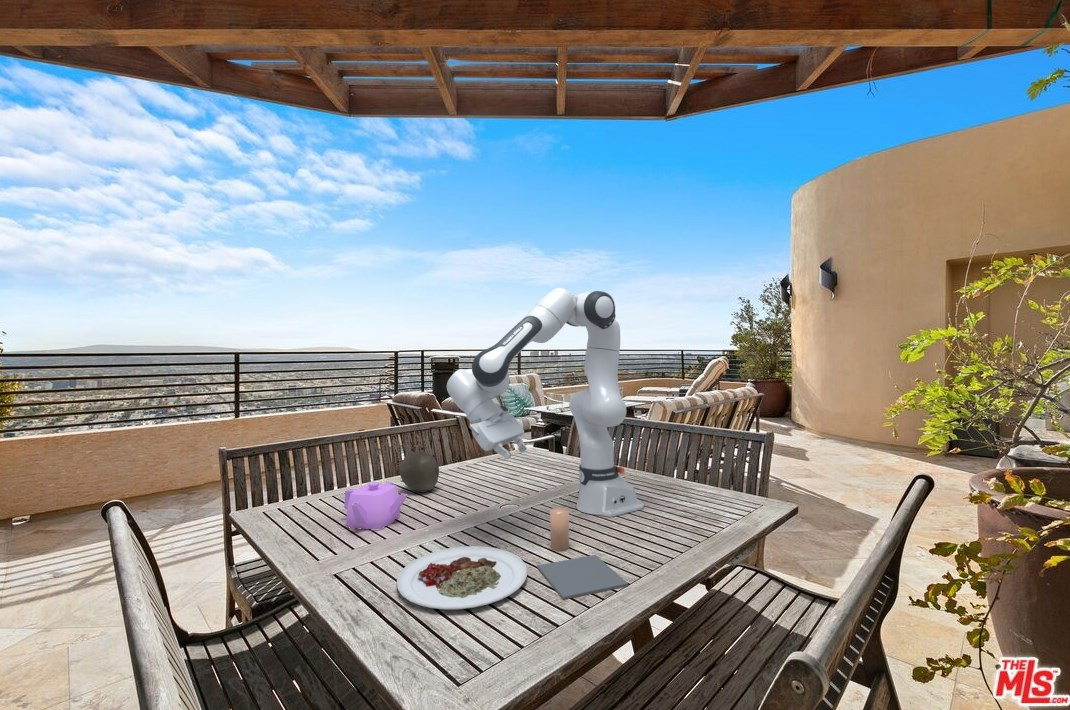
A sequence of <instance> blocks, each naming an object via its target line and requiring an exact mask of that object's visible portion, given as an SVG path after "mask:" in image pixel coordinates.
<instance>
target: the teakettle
mask: <svg viewBox="0 0 1070 710" xmlns="http://www.w3.org/2000/svg"><path fill="white" fill-rule="evenodd" d="M407 497H408V494H407V493H403V492H402V493H400V494H399V490H398V487H397V485H396V484H394V482H389V481H388V482H385V483H380V482H378V481H372V482H369V483H368V484H365V485H363V486H361V487H359V488H349V489H346V490H345V491H344V502H343V504H344V506H343V508H344V509H346V524H347V527H350V528H361V529H381V528H383V527H385V526H387V525H388V526H389V524H390V523H391V524H393V523H394V522H395V521H396V520H398V518H399V517H400V513H401V509H402V508H401V507H402V506H403V504H404V502H405V501H406V499H407ZM398 516H399V517H398ZM395 519H396V520H395ZM394 520H395V521H394ZM393 521H394V522H393ZM392 522H393V523H392ZM391 524H390V525H391ZM388 526H387V527H388ZM350 528H349V529H350ZM385 528H386V527H385ZM383 529H384V528H383ZM381 530H382V529H381Z"/></svg>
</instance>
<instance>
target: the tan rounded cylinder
mask: <svg viewBox="0 0 1070 710" xmlns="http://www.w3.org/2000/svg"><path fill="white" fill-rule="evenodd" d="M549 516H550V517H549V520H550V521H549V524H550V526H549V527H550V532H549V533H550V549H551V550H553V551H554V552H555V551H556V552H566V551H567V550H569V549H570V510H569V508H566V507H563V506H562V507H558V506H557V507H552V508H551V509H550V510H549Z"/></svg>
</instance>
